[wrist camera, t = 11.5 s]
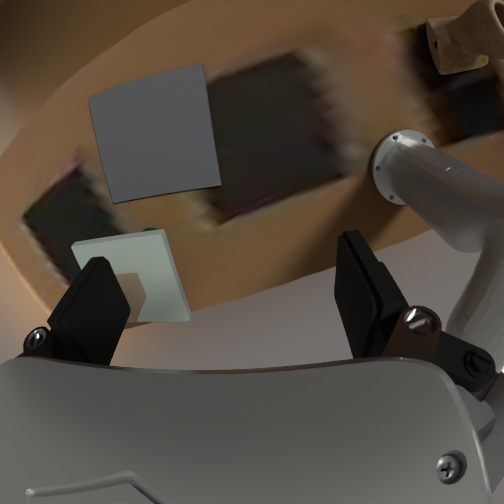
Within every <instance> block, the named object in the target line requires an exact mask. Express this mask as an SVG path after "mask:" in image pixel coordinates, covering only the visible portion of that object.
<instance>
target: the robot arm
mask: <svg viewBox="0 0 504 504" xmlns="http://www.w3.org/2000/svg"><path fill="white" fill-rule="evenodd" d="M393 136H394V138H393ZM376 167H377V168H376ZM372 177H373V181H374V184H375V186H376V188H377V190H378V191H379V192H380V194H381V195H382V196H383V197H384V198H386V199H387V200H388V201H390V202H392V203H394V204H398V205H408V206H409V207H410V208H411V209H412V210H413V211H414V212H415V213H416V214H418V215H419V216H420V217H421V218H422V219H423V220H424V221H425V222H426V223H427V224H428V225H429V226H430V227H431V228H432V229H433V230H434V231H435V232H436V233H437V234H438V235H439V236H440V237H441V238H442V239H443V240H444V241H445V242H446V243H447V244H448V245H450V246H451V247H452V248H454V249H456V250H458V251H461V252H468V253H474V252H481V254H480V257H479V260H478V262H477V264H476V266H475V269H474V272H473V274H472V276H471V278H470V280H469V282H468V284H467V286H466V288H465V289H464V291H463V293H462V295H461V297H460V298H459V300H458V302H457V303H456V305H455V307H454V309H453V310H452V312H451V314H450V316H449V319H448V321H447V324H446V330H445V332H443V331H441V329H442V323H441V320H440V318H439V316H438V315H437V314H436V313H435V312H434V311H433V310H431V309H429V308H427V307H424V306H411V307H409V305H408V303H407V301H406V300H405V298H404V296H403V294H402V293H401V291H400V289H399V287H398V286H397V284H396V282H395V281H394V279H393V277H392V276H391V274H390V273H389V271H388V269H387V268H386V266H385V265H384V263H383V262H378V260H377V258H376V257H375V255H374V254H373V252H372V250H371V249H370V247H369V246H368V244H367V243H366V241H365V239H364V238H363V236H362V235H361V233H360V232H359V231H358V230H354V231H344V232H343V235H340V236H338V247H337V263H336V276H335V289H334V296H335V300H336V304H337V306H338V309H339V313H340V316H341V319H342V322H343V325H344V328H345V332H346V335H347V338H348V342H349V345H350V348H351V352H352V355H353V359H349V360H339V361H331V362H323V363H315V364H306V365H294V366H283V367H271V368H256V369H234V370H166V369H145V368H131V367H118V366H109V365H110V362H111V359H112V357H113V354H114V352H115V349H116V347H117V344H118V341H119V339H120V337H121V334H122V332H123V329H124V327H125V325H126V322H127V320H128V318H129V315H130V312H131V309H130V305H129V303H128V301H127V299H126V297H125V295H124V293H123V291H122V289H121V287H120V284H119V282H118V280H117V278H116V276H115V273H114V271H113V269H112V267H111V264H110V262H109V260H108V259H106V258H105V257H104V256H98V257H92V258H90V260H89V261H88V262H87V263H86V265H85V266H84V267H83V269H82V270H81V272H80V273H79V274H78V276H77V277H76V278H75V280H74V281H73V283H72V284H71V285H70V287H69V288H68V290H67V291H66V293H65V294H64V296H63V297H62V298H61V300H60V301H59V303H58V304H57V306H56V308H55V309H54V311H53V312H52V314H51V315H50V317H49V318H48V320H47V323H48V324H49V326H50V327H51V330H50V331H49V330H48V329H47V328H46V327H43V326H41V327H37V328H35V329H34V330H32V331H31V332H30V333H29V334H28V335H27V337H26V338H25V340H24V344H23V353H22V354H20V355H19V356H17V357H16V358H14V359H11V360H8V361H6V362H4V363H3V364H1V365H0V504H492V495H491V494H492V493H493V491H494V490H495V488H496V487H497V486H498V484H499V483H500V481H501V480H502V478H503V476H504V184H502V183H500V182H498V181H496V180H495V179H493V178H491V177H489V176H487V175H485V174H484V173H482V172H480V171H478V170H476V169H475V168H473V167H471V166H469V165H467V164H465V163H463V162H461V161H459V160H457V159H455V158H453V157H451V156H449V155H447V154H445V153H443V152H441V151H439V150H436V149H435V148H434V146H433V144H432V142H431V141H430V140H429V139H428V138H427V137H426V136H425V135H423V134H422V133H420V132H418V131H415V130H412V129H399V130H396V131H393V132H391V133H390V134H388V135H387V136H385V137H384V138H383V140H382V141H381V142H380V143H379V145H378V146H377V148H376V150H375V153H374V156H373V160H372ZM390 195H391V196H390Z"/></svg>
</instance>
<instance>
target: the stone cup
mask: <svg viewBox="0 0 504 504" xmlns="http://www.w3.org/2000/svg"><path fill="white" fill-rule="evenodd" d="M426 33H427V39H428V45H429V47H430V51H431V55H432V58H433V60H434V64H435V66H436V68H437V70H438V72H439V73H440V74H442V75H445V74H452V73H457V72H462V71H467V70H472V69H476V68H479V67H482V66H484V65H486V64H487V63H488V56H490V57H494V58H498V59H504V2H503V1H501V0H479V1H477V2H475V3H474V4H472V5H471V6H470V7H469V8H468V9H467V10H466V11H465V12H464V13H463V14H462V15H461V16H446V17H439V18H431V19H427V20H426Z"/></svg>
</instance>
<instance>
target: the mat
mask: <svg viewBox="0 0 504 504" xmlns="http://www.w3.org/2000/svg"><path fill="white" fill-rule="evenodd" d="M88 99H89V105H90V110H91V116H92V121H93V126H94V130H95V135H96V140H97V144H98V148H99V152H100V156H101V160H102V164H103V168H104V172H105V175H106V179H107V183H108V186H109V190H110V193H111V196H112V200H113V203H117V202H122V201H127V200H133V199H138V198H143V197H149V196H154V195H160V194H166V193H172V192H178V191H185V190H191V189H198V188H205V187H213V186H220V185H221V179H220V173H219V166H218V160H217V154H216V148H215V141H214V135H213V128H212V122H211V115H210V109H209V102H208V95H207V88H206V81H205V74H204V67H203V64H199V65H194V66H189V67H184V68H180V69H176V70H172V71H168V72H164V73H160V74H156V75H153V76H149V77H146V78H142V79H139V80H136V81H133V82H130V83H127V84H124V85H121V86H118V87H115V88H112V89H110V90H107V91H104V92H102V93H99V94H97V95H94V96H92V97H89V98H88Z"/></svg>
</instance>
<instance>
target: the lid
mask: <svg viewBox="0 0 504 504" xmlns="http://www.w3.org/2000/svg"><path fill="white" fill-rule="evenodd" d="M71 248H72V250H73V252H74V255H75V257H76V259H77V261H78V263H79V265H80V268H81V270H82V269H83V267H84V266H85V265H86V263H87V262H88V261H89V260H90V258H92V257H98V256H104V257H105V258H106V259H108V260H109V262H110V264H111V267H112V269H113V271H114V273H115V276H116V278H117V280H118V282H119V284H120V287H121V289H122V291H123V293H124V295H125V297H126V299H127V301H128V303H129V305H130V309H131V312H130V315H129V318H128V320H127V322H126V323H136V322H166V321H167V322H169V321H191V317H192V314H191V311H190V308H189V305H188V303H187V300H186V297H185V294H184V291H183V288H182V285H181V282H180V279H179V276H178V273H177V270H176V267H175V264H174V260H173V257H172V254H171V251H170V247H169V244H168V241H167V237H166V234H165V231H164V229H160V230H153V231H145V232H138V233H131V234H124V235H117V236H111V237H104V238H98V239H92V240H85V241H79V242H75V243H74V244H73V245H72V246H71Z"/></svg>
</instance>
